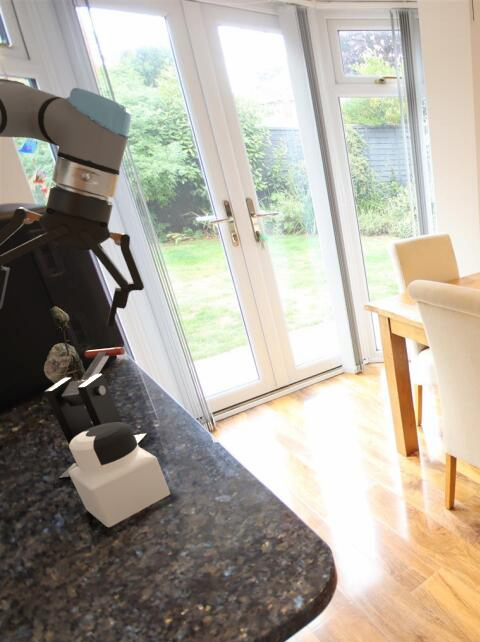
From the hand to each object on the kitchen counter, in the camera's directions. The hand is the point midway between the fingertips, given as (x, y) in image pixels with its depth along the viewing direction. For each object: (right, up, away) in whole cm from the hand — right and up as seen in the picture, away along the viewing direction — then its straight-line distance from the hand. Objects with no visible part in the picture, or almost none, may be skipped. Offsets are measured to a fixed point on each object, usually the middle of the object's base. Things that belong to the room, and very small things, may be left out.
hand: (56, 317), depth 77 cm
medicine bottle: (+25, -27, -15) cm, 39 cm away
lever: (+12, -10, -6) cm, 16 cm away
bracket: (+13, -23, -5) cm, 27 cm away
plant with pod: (-7, -17, +12) cm, 22 cm away
